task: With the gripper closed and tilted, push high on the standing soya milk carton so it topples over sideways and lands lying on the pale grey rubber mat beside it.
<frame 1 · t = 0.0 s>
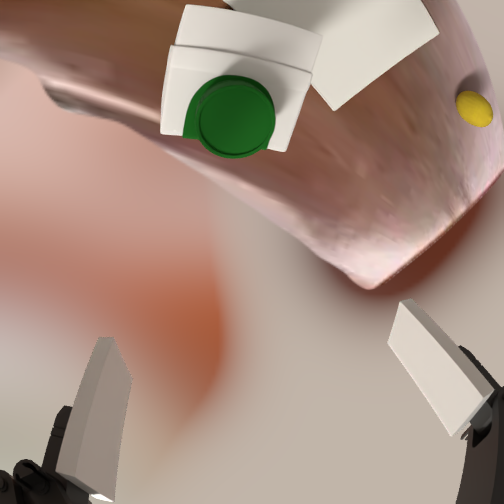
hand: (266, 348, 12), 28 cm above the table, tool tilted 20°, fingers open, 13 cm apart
lemon: (456, 99, 30), on the table
soya milk: (223, 60, 26), on the table
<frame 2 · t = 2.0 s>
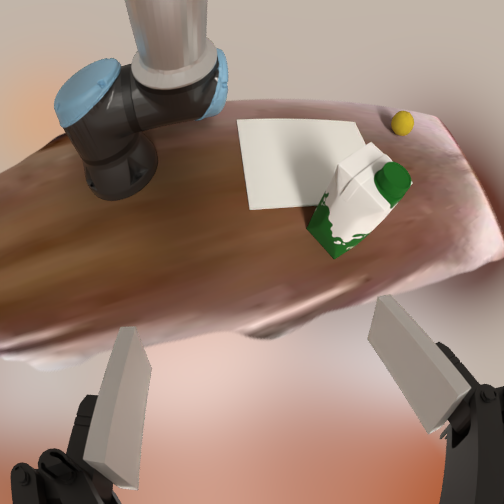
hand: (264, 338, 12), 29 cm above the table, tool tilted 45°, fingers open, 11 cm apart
mat: (311, 157, 53), on the table
lemon: (395, 134, 59), on the table
soya milk: (332, 233, 47), on the table
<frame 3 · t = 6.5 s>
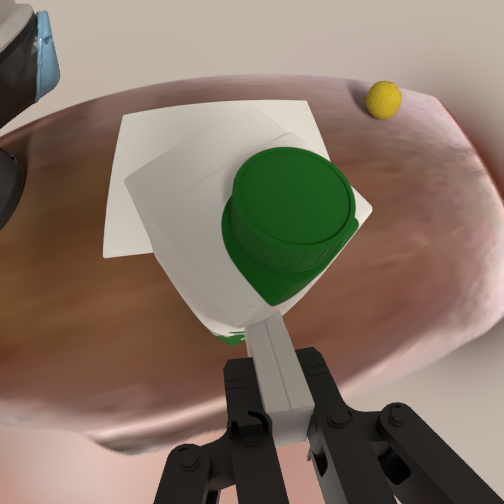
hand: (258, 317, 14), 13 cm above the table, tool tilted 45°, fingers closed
mat: (220, 160, 33), on the table
lemon: (374, 117, 39), on the table
soya milk: (235, 296, 27), on the table, touching gripper
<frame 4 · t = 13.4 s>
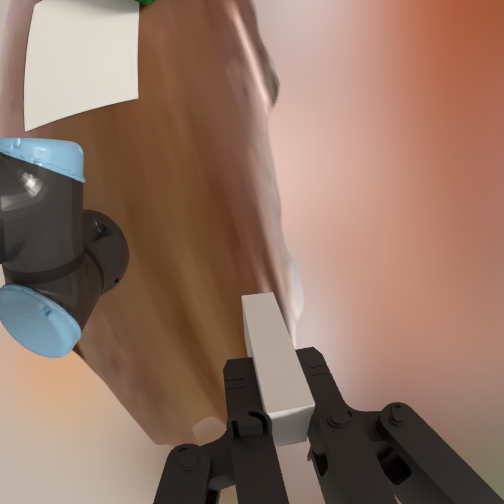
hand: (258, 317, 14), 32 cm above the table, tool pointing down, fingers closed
mat: (76, 40, 28), on the table
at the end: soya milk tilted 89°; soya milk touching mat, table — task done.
